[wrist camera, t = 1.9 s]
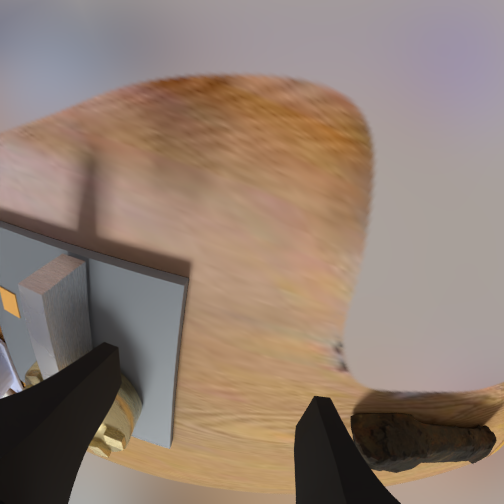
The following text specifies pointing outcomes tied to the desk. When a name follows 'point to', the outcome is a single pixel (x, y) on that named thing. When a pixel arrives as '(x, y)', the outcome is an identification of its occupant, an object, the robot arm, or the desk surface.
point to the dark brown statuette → (415, 441)
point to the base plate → (106, 319)
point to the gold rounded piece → (71, 341)
